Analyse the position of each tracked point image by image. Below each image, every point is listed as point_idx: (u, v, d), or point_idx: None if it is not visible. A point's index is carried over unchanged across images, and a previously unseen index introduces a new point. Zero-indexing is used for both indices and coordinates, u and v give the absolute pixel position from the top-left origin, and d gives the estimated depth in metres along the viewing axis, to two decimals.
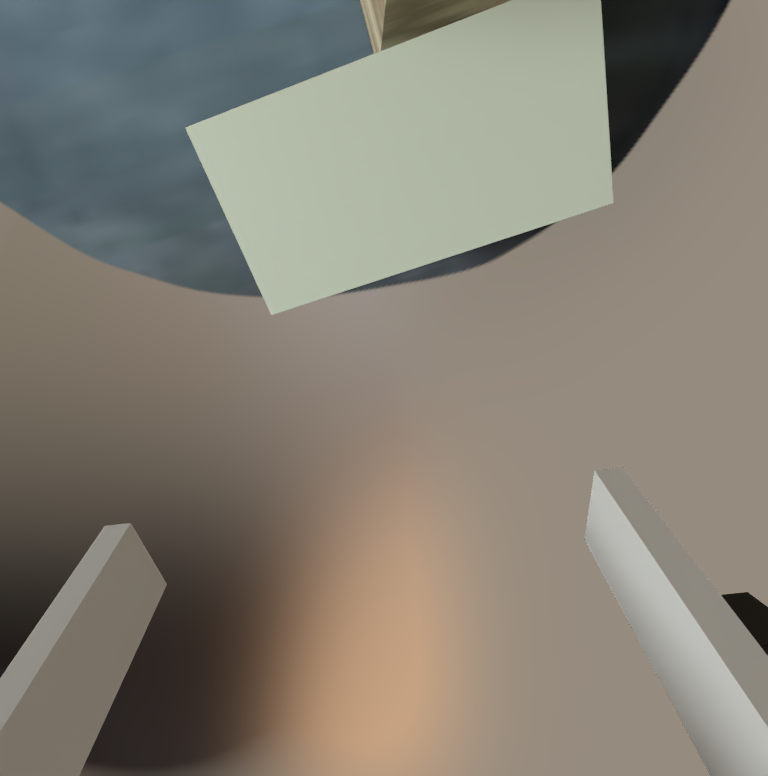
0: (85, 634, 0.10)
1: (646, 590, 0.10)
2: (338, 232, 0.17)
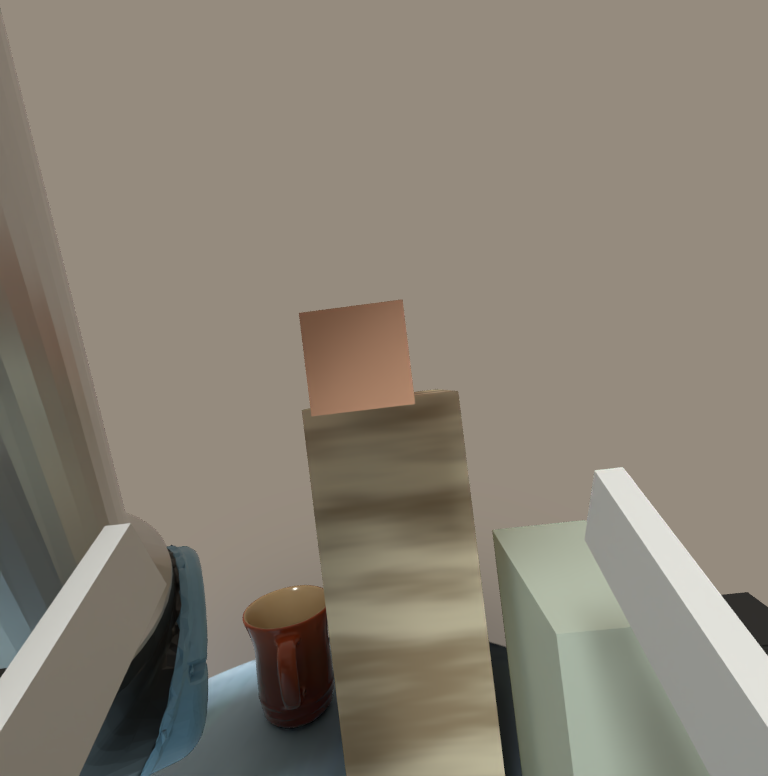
0: (85, 634, 0.10)
1: (646, 589, 0.10)
2: None
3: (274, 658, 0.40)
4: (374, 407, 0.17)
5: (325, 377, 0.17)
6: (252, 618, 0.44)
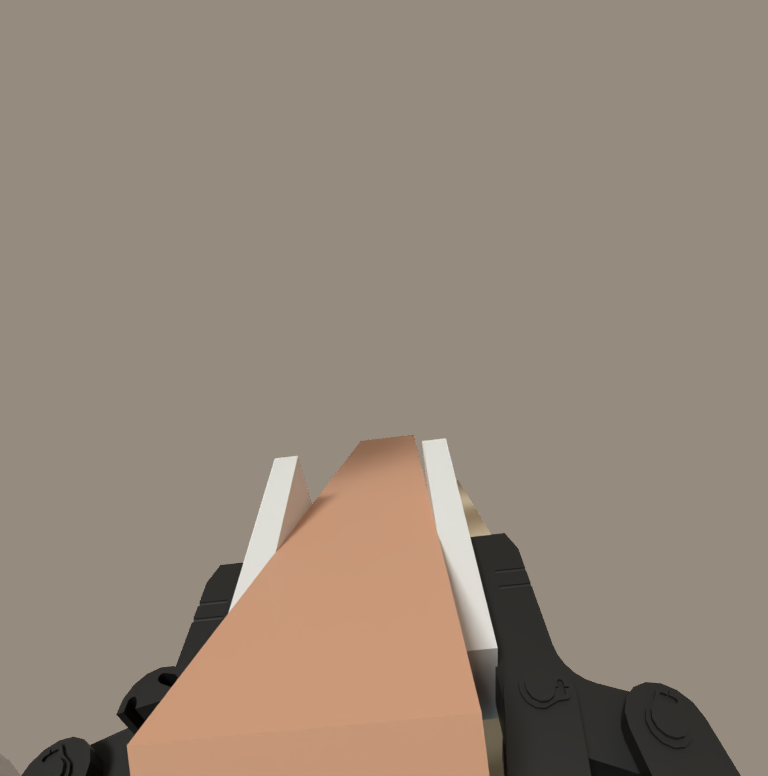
0: None
1: None
2: None
3: None
4: None
5: None
6: None
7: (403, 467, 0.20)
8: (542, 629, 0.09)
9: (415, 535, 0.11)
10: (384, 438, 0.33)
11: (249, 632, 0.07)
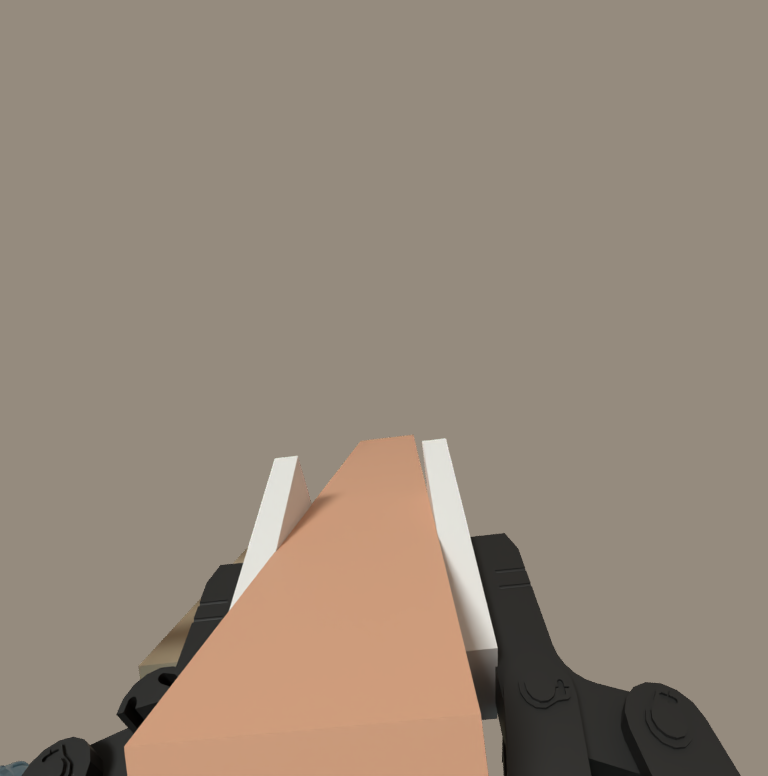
0: None
1: None
2: None
3: None
4: None
5: None
6: None
7: (403, 467, 0.20)
8: (542, 629, 0.09)
9: (415, 535, 0.11)
10: (384, 438, 0.33)
11: (247, 632, 0.07)
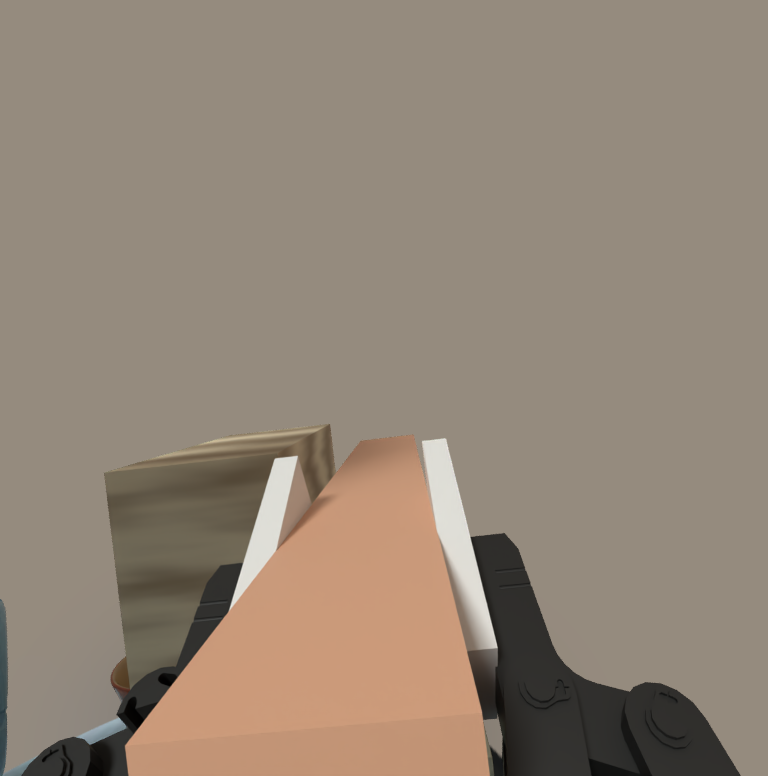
0: None
1: None
2: None
3: None
4: None
5: None
6: (126, 671, 0.41)
7: (403, 467, 0.20)
8: (542, 629, 0.09)
9: (415, 535, 0.11)
10: (384, 438, 0.33)
11: (248, 632, 0.07)
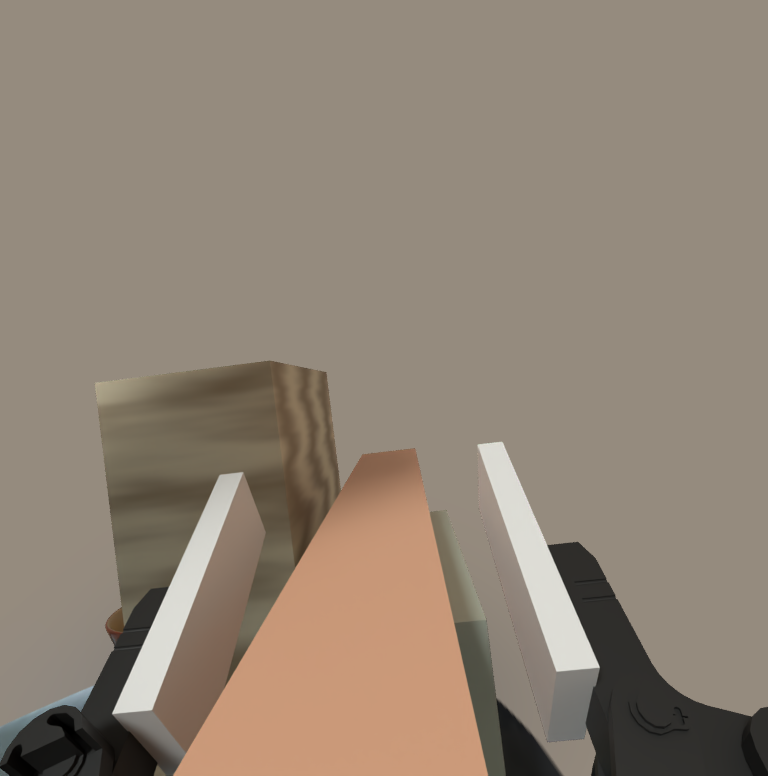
0: (223, 561, 0.11)
1: (501, 543, 0.11)
2: None
3: None
4: None
5: None
6: (121, 621, 0.40)
7: (406, 489, 0.20)
8: (637, 645, 0.08)
9: (421, 577, 0.11)
10: None
11: (256, 696, 0.07)
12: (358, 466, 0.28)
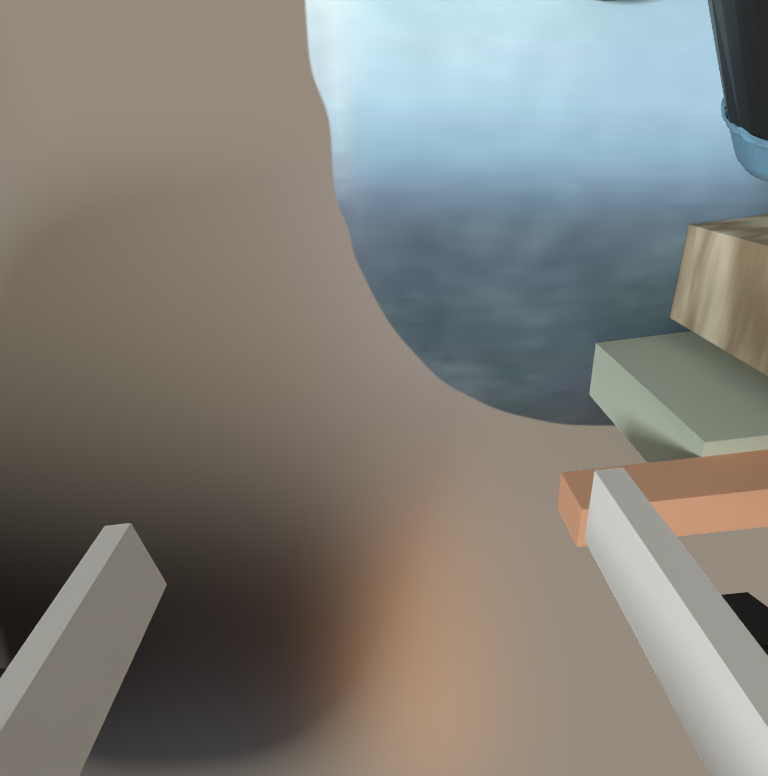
0: (85, 634, 0.10)
1: (646, 590, 0.10)
2: None
3: None
4: (559, 495, 0.36)
5: (567, 491, 0.34)
6: None
7: None
8: None
9: None
10: None
11: None
12: None
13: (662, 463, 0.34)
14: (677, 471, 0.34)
